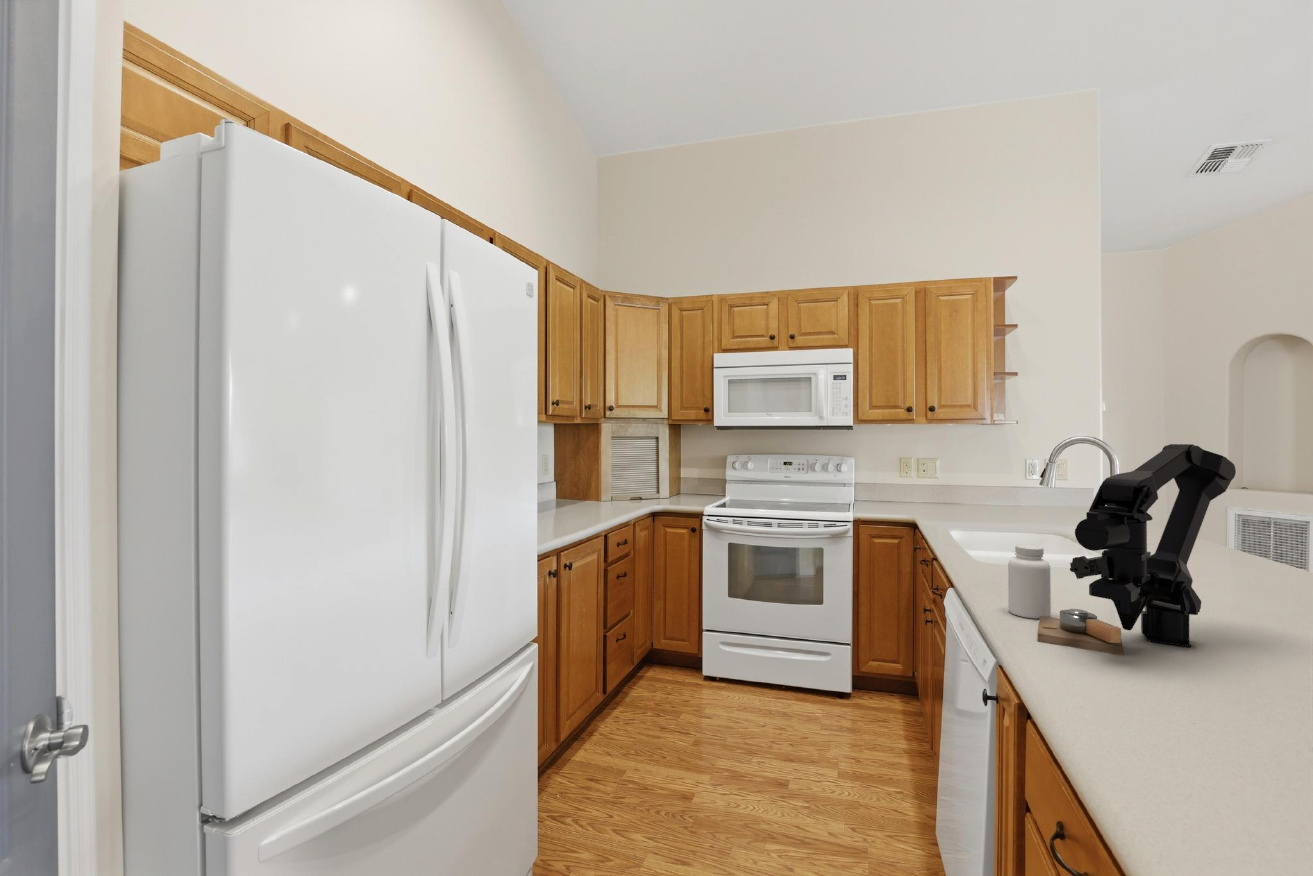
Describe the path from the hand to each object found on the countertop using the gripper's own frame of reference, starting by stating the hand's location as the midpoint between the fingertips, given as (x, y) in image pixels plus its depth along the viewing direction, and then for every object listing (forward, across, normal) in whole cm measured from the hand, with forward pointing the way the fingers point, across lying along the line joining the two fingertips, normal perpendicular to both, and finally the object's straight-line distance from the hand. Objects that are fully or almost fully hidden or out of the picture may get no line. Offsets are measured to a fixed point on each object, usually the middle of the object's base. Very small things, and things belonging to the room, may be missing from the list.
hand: (1127, 629), depth 110 cm
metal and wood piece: (+2, +1, -5) cm, 6 cm away
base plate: (+4, 0, -8) cm, 9 cm away
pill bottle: (+4, -8, -20) cm, 22 cm away
